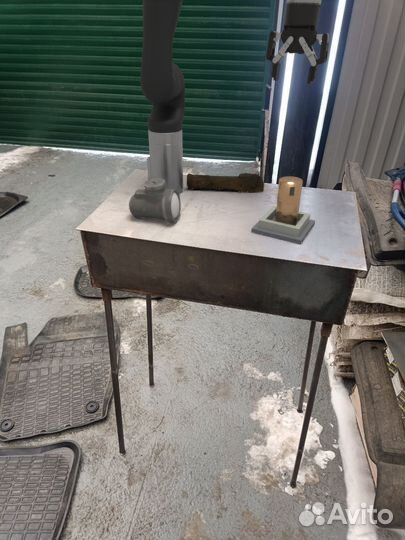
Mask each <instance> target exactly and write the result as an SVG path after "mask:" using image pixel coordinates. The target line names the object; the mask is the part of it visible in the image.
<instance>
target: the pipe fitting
mask: <svg viewBox="0 0 405 540" xmlns="http://www.w3.org/2000/svg"><path fill="white" fill-rule="evenodd" d="M143 186H144V188H138V189H135V191H134V194H133V195H131V197H130V199H129V202H128V209H129V213H130V215H131V216H132V217H133V218H135V219H163V220H165V221H166V222H167V223H178V221H179V219H180V216H181V209H182V207H181V204H182V203H181V198H180V197H181V196H180V193H178V190H177V189H167V190H166V189H165V180H164V179H161V178H154V179H150V180H148V179H147V180H146V181H145V182H143Z"/></svg>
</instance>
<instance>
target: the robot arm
mask: <svg viewBox="0 0 405 540" xmlns="http://www.w3.org/2000/svg"><path fill="white" fill-rule="evenodd" d="M183 1H184V0H142V23H143V24H142V33H143V34H142V35H143V37H142V39H143V40H142V54H141V56H142V57H141V64H140V65H141V66H140V88H141V92H142V94H143V96H144V97H145V99H146V100H147V101H148V102H150V103H151V104H152V105H151V106H152V107H151V112H150V114H149V116H148V119H147V130H148V134H147V135H148V144H149V145H148V148H149V156H148V157H147V158H146V162H147V163H146V165H147V181H148V180H150V179H154V178H161V179H164V180H165V189H166V190H167V189H177V190H178V193H179V194H180V193H182V192H183V190H184V163H183V161H184V160H183V158H184V155H183V154H184V153H183V121H184V118H185V106H186V105H185V101H186V85H185V84H186V83H185V77H184V74H183V72H182V69H181V68H180V67H179V65H177V63H174V62H173V46H174V45H173V44H174V36H175V32H176V29H177V25H178V21H179V17H180V14H181V9H182V6H183ZM322 1H323V0H286V5H285V14H284V21H283V29H282V31H281V32H278V31H276V30H271V31H270V32H269V36H268V41H267V48H266V52H265V53H266V55H265V59H266V60H267V61H269V62H271V63H272V67H271V77H272V80H273V81H275V82H277V81H279V79H280V73H281V72H280V71H281V61H282V60H283V58H284V57H286V56H287V54H298V55H306V57H307V59H308V61H309V63H310V66H309V70H308V75H307V81H306V83H307V85H312V84H313V82H314V81H315V80H316V77H317V71H318V67H319V65H323V64H325V63H327V61H328V54H329V47H330V38H331V35H330V33H328V32H327V33H319V34H318V32H317V31H318V30H317V29H318V23H319V17H320V11H321V4H322ZM280 39H281V42H282V44H283V45H282V46H281V48H280V49H279V50H278V51H277V53H276V55H275V52H276V46H277V43H278V42H279V41H280ZM316 41H318V44H319V45H320V51H319V58H318V56H317V55H316V51H315V49H314V47H313V45H314V44H315V43H316Z"/></svg>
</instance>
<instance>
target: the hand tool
mask: <svg viewBox="0 0 405 540" xmlns="http://www.w3.org/2000/svg"><path fill="white" fill-rule="evenodd" d="M186 188H187V190H194V191H195V190H196V189H197V190H198V189H199V190H200V189H201V190H228V191H229V190H230V191H231V190H232V191H238V192H239V193H241V194H242V193H243V194H249V193H251V194H252V193H260V192H261V193H262V192H264V191H265V190H264V189H265V182H264V180H263V178H262V176H261V175H259V174H258V173H251V172H250V173H249V172H248V173H247V172H243V173H240V174H239V175H233V176H232V175H211V174H210V175H209V174H194V173H193V174H192V173H190V172H188V173H187V175H186Z"/></svg>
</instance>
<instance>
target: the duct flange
mask: <svg viewBox="0 0 405 540" xmlns="http://www.w3.org/2000/svg"><path fill="white" fill-rule="evenodd" d="M276 207H277V205H276V206H275V205H272V206H271V207H270V208H269V209H268V210H267V211H266V212H265V213H264V214H263V215H262V216H261V217H260V218H259V220H258V222H256V223H255V224H254V225H253V226H252V227H251V230H250V231H251V232H250V233H251V234H252V233H253V234H256V235H261V236H265V237H269V238H274V239H277V240H280V241H286V242H288V243H292V244H293V243H294V244H297V245H302V244H303V242H304V241H305V240H306V238H307V236H308V234H309V233H310V231H312V229H313V227H314V226H315V223H316V220H315V219H311V213H308V212H304V211H301V210H299V214H298V221H297V225H296V226H293V225H289V224H285V223H280V222H276V221H275V218H276Z"/></svg>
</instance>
